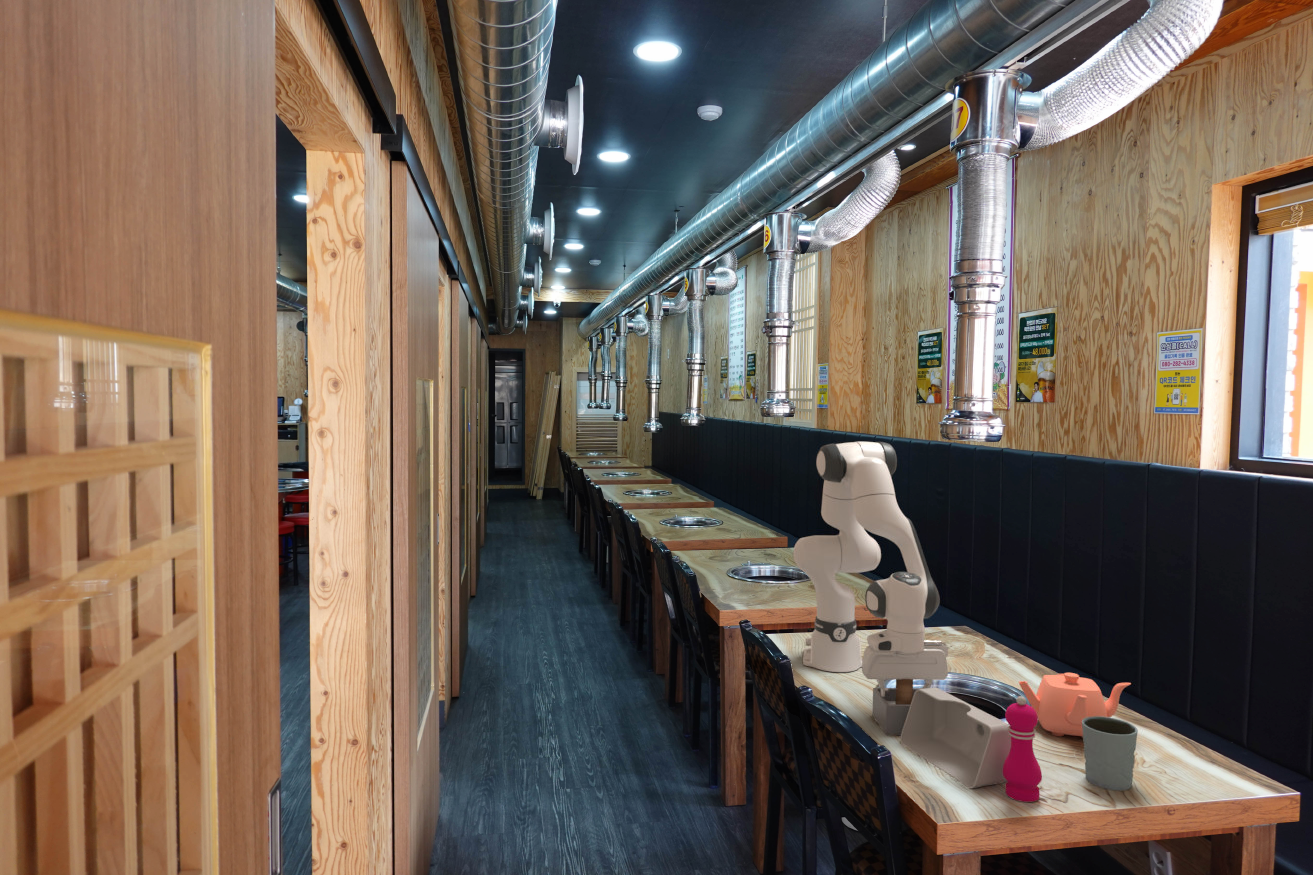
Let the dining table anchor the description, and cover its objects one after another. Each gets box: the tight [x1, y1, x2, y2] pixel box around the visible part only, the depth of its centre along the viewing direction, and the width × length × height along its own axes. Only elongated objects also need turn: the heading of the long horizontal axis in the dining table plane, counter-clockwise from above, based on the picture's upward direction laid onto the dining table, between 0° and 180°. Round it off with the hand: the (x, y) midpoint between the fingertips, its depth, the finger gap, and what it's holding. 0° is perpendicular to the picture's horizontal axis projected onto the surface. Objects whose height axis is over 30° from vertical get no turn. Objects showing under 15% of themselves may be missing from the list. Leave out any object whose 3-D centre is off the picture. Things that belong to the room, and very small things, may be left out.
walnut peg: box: [895, 679, 914, 705], centre depth 201 cm, size 4×4×12 cm
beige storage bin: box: [899, 687, 1011, 789], centre depth 182 cm, size 25×16×12 cm, turn 20°
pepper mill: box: [1003, 695, 1043, 803], centre depth 165 cm, size 7×7×20 cm
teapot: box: [1018, 672, 1132, 739], centre depth 198 cm, size 18×18×14 cm
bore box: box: [871, 687, 920, 736], centre depth 201 cm, size 12×12×7 cm
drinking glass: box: [1082, 716, 1138, 792], centre depth 172 cm, size 10×10×12 cm
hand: (904, 696), depth 201 cm, fingers open, 8 cm apart
